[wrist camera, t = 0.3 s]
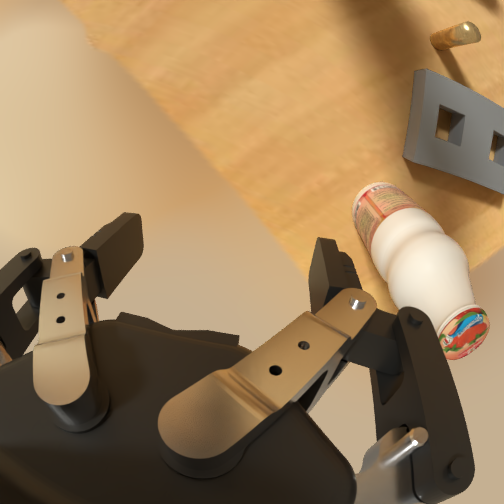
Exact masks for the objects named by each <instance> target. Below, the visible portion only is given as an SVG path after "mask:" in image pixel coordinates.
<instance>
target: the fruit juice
mask: <svg viewBox="0 0 504 504" xmlns="http://www.w3.org/2000/svg"><path fill="white" fill-rule="evenodd" d="M352 218H353V222H354V225H355V227H356V229H357V231H358V233H359V235H360V237H361V238H362V240H363V242H364V244H365V246H366V248H367V250H368V252H369V254H370V256H371V258H372V260H373V263H374V265H375V267H376V269H377V270H378V272H379V274H380V275H381V277H382V278H383V279H384V280H385V281H386V282H387V283H388V289H389V293H390V296H391V298H392V300H393V302H394V304H395V305H396V307H397V308H398V309H399V310H400V309H401V308H402V307H405V306H411V307H415V308H418V309H420V310H421V311H423V312H424V313H425V314H427V315H428V317H429V318H430V320H431V322H432V324H433V326H434V329H435V331H436V334H437V336H438V339H439V341H440V344H441V346H442V349H443V352H444V354H445V357H446V359H449V360H456V359H460V358H462V357H465V356H466V355H468V354H470V353H471V352H473V351H474V350H475V349H476V348H477V347H478V346H479V345H480V344H481V343H482V342H483V341H484V339H485V338H486V336H487V334H488V331H489V327H490V322H489V319H488V317H487V315H486V313H485V311H484V310H483V309H482V308H481V307H480V306H478V305H476V303H475V298H474V294H473V290H472V285H471V281H470V277H469V264H468V260H467V257H466V255H465V253H464V251H463V249H462V248H461V247H460V245H459V244H458V243H457V242H456V241H455V240H454V239H452V238H451V237H449V236H447V235H445V233H444V231H443V229H442V228H441V226H440V225H439V224H438V222H437V221H436V220H435V219H434V218H433V217H432V216H431V215H430V214H428V213H427V212H426V211H425V210H424V209H423V208H422V207H420V206H419V205H418V204H417V203H416V202H415V201H413V200H412V199H411V198H410V197H409V196H408V195H406V194H405V193H404V192H403V191H401V190H400V189H399V188H398V187H396V186H395V185H392V184H390V183H387V182H375V183H371V184H369V185H367V186H365V187H364V188H363V189H362V190H361V191H360V192H359V193H358V194H357V196H356V197H355V199H354V202H353V206H352Z"/></svg>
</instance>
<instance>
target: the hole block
mask: <svg viewBox="0 0 504 504" xmlns="http://www.w3.org/2000/svg"><path fill="white" fill-rule="evenodd" d="M439 108H440V109H443V110H445V111H448V112H450V113H452V118H451V124H450V131H449V137H448V142H447V141H445V140H442V139H439V138H436V137H435V133H436V127H437V120H438V113H439ZM493 134H495V135H497V136H498V139H497V145H496V150H495V156H494V161H491V160H489V154H490V149H491V144H492V138H493ZM403 157H404V158H406V159H408V160H410V161H412V162H414V163H418V164H421V165H425V166H428V167H431V168H434V169H437V170H441V171H444V172H447V173H450V174H453V175H455V176H458V177H461V178H464V179H467V180H469V181H472V182H475V183H477V184H480V185H482V186H485V187H487V188H490V189H492V190H495V191H497V192H499V193H502V194H504V108H502V107H501V106H499V105H497V104H496V103H494V102H492V101H491V100H489V99H487V98H486V97H484V96H482V95H480V94H479V93H477V92H475V91H473V90H471V89H469V88H467V87H465V86H463V85H461V84H459V83H457V82H455V81H453V80H451V79H449V78H447V77H445V76H442V75H440V74H438V73H436V72H433V71H431V70H428V69H422V70H417V71H415V72H414V83H413V92H412V101H411V109H410V116H409V123H408V129H407V135H406V141H405V146H404V152H403Z"/></svg>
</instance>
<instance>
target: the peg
mask: <svg viewBox="0 0 504 504" xmlns="http://www.w3.org/2000/svg"><path fill="white" fill-rule="evenodd" d="M480 40H481V34H480V31H479V30H478V28H477V27H476V26H475V25H474V24H473V23H471V22H464V23H461V24H458V25H455V26H452V27H449V28H447V29H444V30H441V31H438V32H436V33H433V34H432V35H431V36H430V41H431V43H432V45H433V46H434V47H435V48H436V49H438V50H445V49H449V48H453V47H457V46H462V45H466V44H471V43H476V42H479V41H480Z"/></svg>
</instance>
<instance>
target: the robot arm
mask: <svg viewBox="0 0 504 504" xmlns="http://www.w3.org/2000/svg"><path fill="white" fill-rule="evenodd" d="M143 247H144V244H143V234H142V221H141V216H140V215H139V214H135V213H126V212H124V213H123V214H121V215H120V216H119V217H118V218H116V219H115V220H114V221H113V222H111V223H109V224H107V225H105V226H103V227H102V228H101V229H100V230H99V231H98V232H96V233H95V234H94V235H93V236H91V237H90V238H89V239H88V240H87V241H86V242H84V243H83V244H82V245H81V246H80V247H77V246H69V247H65V248H62V249H61V250H59V251H57V252H56V253H55V254H54V255H53V258H52V259H42V258H41V254H40V251H39V250H38V249H37V248H29V249H26V250H23V251H21V252H19V253H18V254H17V255H16V256H15V257H14V258H12V259H11V260H10V261H9V262H8V263H7V264H6V265H5V266H4V267H3V268H2V269H1V270H0V504H437V503H440V502H442V501H444V500H446V499H449V498H451V497H453V496H455V495H457V494H459V493H461V492H463V491H465V490H466V489H467V488H468V487H469V485H470V484H471V482H472V480H473V477H474V472H475V465H474V459H473V453H472V448H471V443H470V439H469V434H468V430H467V425H466V421H465V418H464V414H463V410H462V407H461V403H460V399H459V396H458V393H457V389H456V386H455V383H454V380H453V377H452V374H451V371H450V368H449V365H448V363H447V360H446V357H445V354H444V352H443V349H442V346H441V344H440V341H439V339H438V336H437V334H436V331H435V329H434V326H433V324H432V322H431V320H430V318H429V317H428V315H427V314H425V313H424V312H423V311H421V310H420V309H418V308H415V307H411V306H405V307H402V308H401V309H400V310H399V312H398V314H397V315H394V314H390V313H387V312H384V311H382V310H379V309H377V303H376V301H375V299H374V298H373V297H372V296H371V295H370V294H369V293H367V292H365V291H363V289H362V287H361V284H360V281H359V278H358V275H357V274H356V269H355V268H354V264H353V261H352V259H351V258H350V257H349V256H348V255H347V254H346V253H345V252H339V250H338V247H337V244H336V241H335V240H333V239H327V238H320V237H318V238H317V241H316V245H315V249H314V254H313V258H312V262H311V266H310V271H309V291H310V302H311V312H309V311H306V312H304V313H303V314H302V315H300V316H299V317H298V318H296V319H295V320H294V321H293V322H291V323H290V324H289V325H287V326H286V327H285V328H284V329H282V330H281V331H280V332H278V333H277V334H276V335H275V336H273V337H272V338H271V339H269V340H268V341H267V342H265V343H264V344H263V345H261V346H260V347H259V348H257V349H256V350H255V351H253V352H252V351H251V350H249V349H247V348H245V347H242V346H240V345H238V343H239V335H233V334H226V333H220V332H215V331H209V330H172V329H170V328H168V327H165V326H163V325H161V324H159V323H157V322H155V321H152V320H150V319H148V318H145V317H141V316H137V315H133V314H129V313H125V312H121V313H120V314H119V316H118V317H117V319H116V320H103V321H99V317H98V311H97V304H96V301H95V298H96V297H97V296H98V297H102V298H106V299H108V298H109V296H110V295H111V294H112V292H113V291H114V290H115V288H116V287H117V286H118V285H119V283H120V282H121V281H122V279H123V278H124V277H125V276H126V274H127V273H128V272H129V271H130V269H131V268H132V267H133V266H134V264H135V263H136V262H137V261H138V260H139V258H140V257H141V255H142V253H143ZM22 287H23V288H24V291H25V294H26V296H27V298H28V301H27V302H26V303H25V304H24V305H23V306H22V308H21V309H20V310H19V311H18V312H17V314H16V313H15V311H14V309H13V306H12V300H13V297H14V296H15V294H16V293H17V292H18V291H19V290H20V289H21V288H22ZM37 333H38V344H37V345H35V346H34V349H33V351H31V352H29V353H27V354H25V355H23V354H24V352H25V351H26V349H27V348H28V346H29V345H30V343H31V342H32V340H33V339H34V337H35V336H36V334H37ZM350 362H352V363H355V364H358V365H361V366H365V367H368V368H369V370H370V377H371V385H372V393H373V402H374V412H375V423H376V436H377V442H376V443H375V444H374V445H373V446H372V447H370V448H369V449H368V450H367V452H366V453H365V455H364V458H363V465H362V468H361V470H360V472H359V473H358V474H355V473H354V471H353V468H352V466H351V465H350V463H349V462H348V460H347V459H346V458H345V457H344V456H343V455H342V453H341V452H340V451H339V450H338V449H337V448H336V447H335V446H334V444H333V443H332V442H331V441H330V440H329V438H328V437H327V436H326V435H325V434H324V433H323V432H322V430H321V429H320V428H319V427H318V425H317V424H316V423H315V422H314V421H313V420H312V418H311V417H310V416H309V415H308V413H309V412H310V411H311V410H312V408H313V407H314V406H315V405H316V403H317V402H318V401H319V399H320V398H321V397H322V395H323V394H324V393H325V391H326V390H327V389H328V388H329V387H330V386H331V384H332V383H333V382H334V381H335V380H336V379H337V377H338V376H339V375H340V374H341V372H342V371H343V370H344V369H345V368H346V366H347V365H348V364H349V363H350Z"/></svg>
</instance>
